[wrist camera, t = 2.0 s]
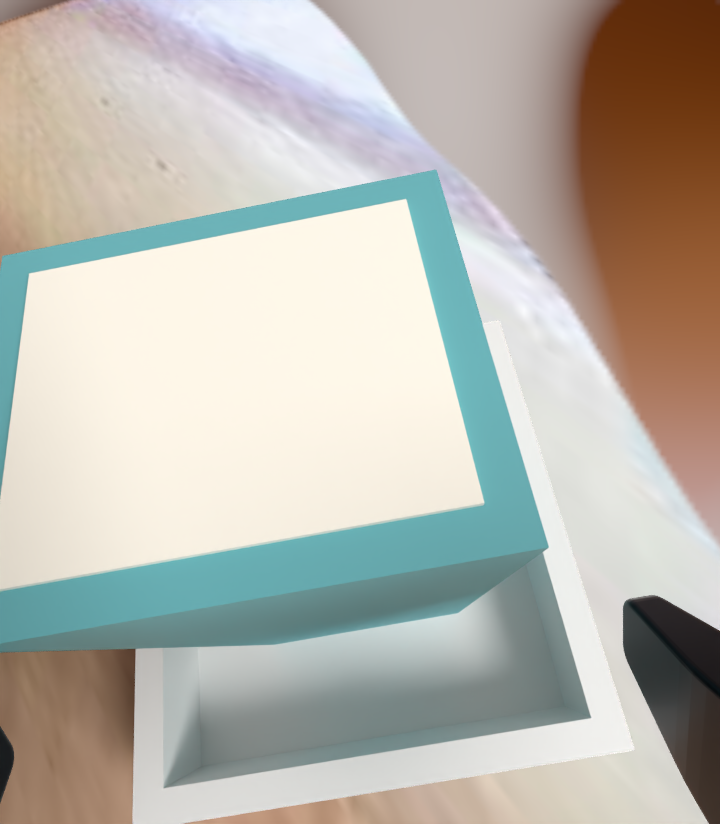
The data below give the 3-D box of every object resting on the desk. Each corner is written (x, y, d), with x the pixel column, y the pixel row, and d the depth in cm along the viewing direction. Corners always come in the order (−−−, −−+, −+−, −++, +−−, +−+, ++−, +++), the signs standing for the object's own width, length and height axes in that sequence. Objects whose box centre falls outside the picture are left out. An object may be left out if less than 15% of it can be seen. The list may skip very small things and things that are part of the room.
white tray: (597, 730, 16) (635, 750, 13) (181, 799, 16) (132, 831, 13) (489, 362, 21) (499, 319, 18) (176, 421, 21) (140, 388, 18)
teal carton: (457, 613, 17) (551, 546, 5) (274, 644, 17) (-70, 654, 5) (425, 465, 19) (436, 163, 7) (262, 495, 19) (-3, 251, 7)
